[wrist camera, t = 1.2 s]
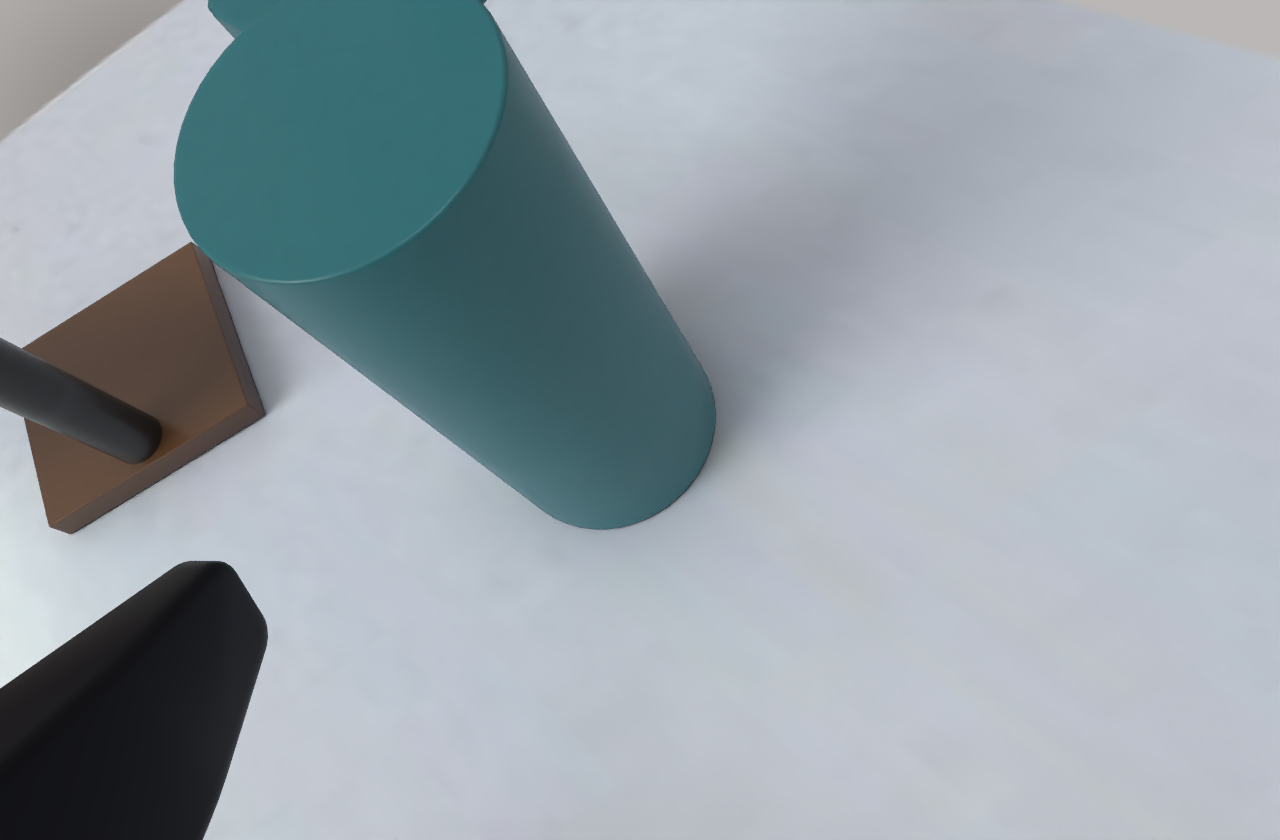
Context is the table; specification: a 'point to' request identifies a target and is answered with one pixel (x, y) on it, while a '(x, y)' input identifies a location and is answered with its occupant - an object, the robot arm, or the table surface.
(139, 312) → the peg stand
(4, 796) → the robot arm
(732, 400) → the table surface
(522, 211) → the jug
